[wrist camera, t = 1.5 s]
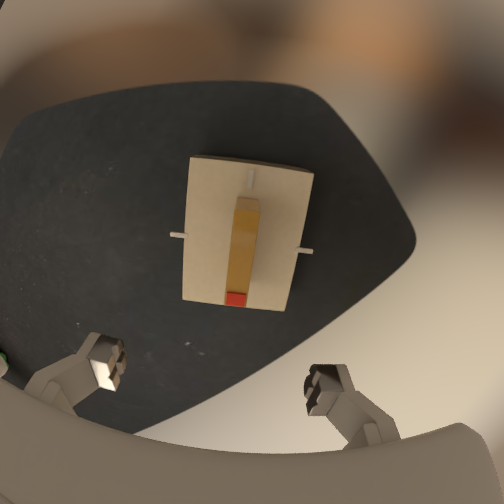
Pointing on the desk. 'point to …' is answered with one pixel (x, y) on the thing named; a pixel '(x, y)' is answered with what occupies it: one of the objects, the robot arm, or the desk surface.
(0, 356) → the cup
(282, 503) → the robot arm
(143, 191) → the desk surface
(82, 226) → the desk surface
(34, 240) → the desk surface
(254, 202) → the yellow slab
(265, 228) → the tan block
